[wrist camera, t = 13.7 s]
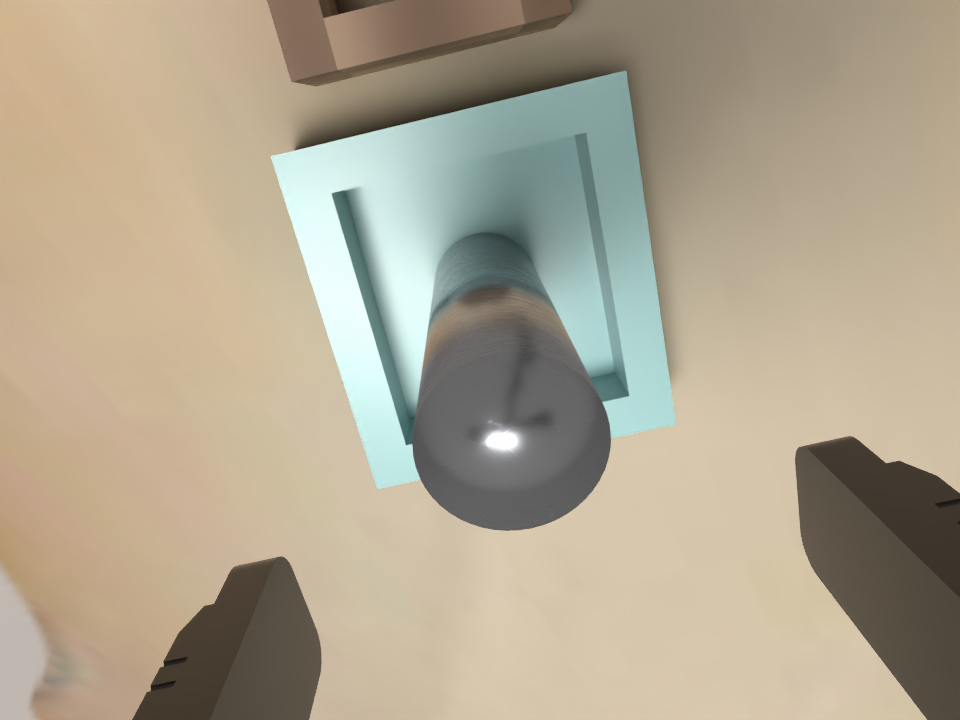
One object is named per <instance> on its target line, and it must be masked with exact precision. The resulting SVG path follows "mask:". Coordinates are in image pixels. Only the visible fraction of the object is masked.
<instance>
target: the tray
mask: <svg viewBox="0 0 960 720" xmlns="http://www.w3.org/2000/svg"><path fill="white" fill-rule="evenodd" d="M271 159H272V162H273V165H274V169H275V172H276V175H277V178H278V181H279V184H280V187H281V190H282V193H283V197H284V200H285V203H286V206H287V209H288V212H289V215H290V218H291V222H292V225H293V228H294V231H295V234H296V237H297V240H298V243H299V246H300V250H301V253H302V256H303V259H304V262H305V265H306V268H307V271H308V274H309V278H310V281H311V284H312V287H313V290H314V293H315V296H316V299H317V303H318V306H319V309H320V312H321V315H322V318H323V321H324V324H325V327H326V331H327V334H328V337H329V340H330V343H331V346H332V349H333V352H334V356H335V359H336V362H337V365H338V368H339V371H340V374H341V377H342V380H343V384H344V387H345V390H346V393H347V396H348V399H349V402H350V405H351V408H352V412H353V415H354V418H355V421H356V424H357V427H358V430H359V433H360V437H361V440H362V443H363V446H364V449H365V452H366V455H367V458H368V461H369V465H370V468H371V471H372V474H373V477H374V480H375V483H376V486H377V489H380V488H385V487H389V486H394V485H398V484H403V483H408V482H412V481H417V480H421V479H420V477H419V474H418V472H417V469H416V466H415V462H414V457H413V446H412V441H413V430H414V423H415V416H416V409H417V401H418V394H419V387H420V380H421V373H422V366H423V359H424V352H425V345H426V338H427V331H428V324H429V316H430V309H431V302H432V295H433V288H434V281H435V275H436V270H437V267H438V264H439V262H440V260H441V258H442V256H443V255H444V254H445V252H446V251H447V250H448V249H449V248H450V247H451V246H452V245H453V244H454V243H455V242H457V241H459V240H460V239H462V238H464V237H466V236H469V235H472V234H477V233H495V234H499V235H503V236H505V237H508V238H510V239H511V240H513V241H515V242H516V243H517V244H519V245H520V246H521V247H522V248H523V249H524V250H525V252H526V253H527V254H528V256H529V258H530V259H531V261H532V263H533V265H534V267H535V269H536V271H537V273H538V275H539V277H540V279H541V281H542V283H543V285H544V287H545V289H546V291H547V293H548V295H549V297H550V299H551V301H552V303H553V305H554V307H555V309H556V311H557V313H558V315H559V317H560V319H561V321H562V323H563V325H564V327H565V329H566V331H567V333H568V335H569V337H570V339H571V341H572V343H573V345H574V347H575V349H576V351H577V353H578V355H579V357H580V359H581V361H582V363H583V365H584V367H585V369H586V371H587V373H588V375H589V377H590V379H591V381H592V383H593V385H594V387H595V389H596V391H597V393H598V395H599V397H600V399H601V401H602V403H603V405H604V407H605V410H606V412H607V416H608V420H609V424H610V432H611V438H614V437H619V436H623V435H628V434H633V433H637V432H642V431H646V430H651V429H655V428H660V427H665V426H669V425H674V424H676V421H675V414H674V407H673V399H672V392H671V385H670V378H669V371H668V364H667V357H666V350H665V342H664V335H663V328H662V321H661V314H660V307H659V300H658V293H657V285H656V278H655V271H654V264H653V257H652V250H651V243H650V236H649V229H648V221H647V214H646V207H645V200H644V193H643V186H642V179H641V172H640V164H639V157H638V150H637V143H636V136H635V129H634V122H633V115H632V107H631V100H630V93H629V86H628V79H627V72H626V70H625V71H621V72H617V73H612V74H608V75H604V76H600V77H596V78H592V79H588V80H584V81H580V82H575V83H571V84H567V85H563V86H559V87H555V88H551V89H547V90H542V91H538V92H534V93H530V94H526V95H522V96H518V97H514V98H509V99H505V100H501V101H497V102H493V103H489V104H485V105H481V106H476V107H472V108H468V109H464V110H460V111H456V112H452V113H448V114H443V115H439V116H435V117H431V118H427V119H423V120H419V121H415V122H410V123H406V124H402V125H398V126H394V127H390V128H386V129H382V130H377V131H373V132H369V133H365V134H361V135H357V136H353V137H349V138H344V139H340V140H336V141H332V142H328V143H324V144H320V145H316V146H311V147H307V148H303V149H299V150H295V151H291V152H287V153H283V154H278V155H274V156H271Z"/></svg>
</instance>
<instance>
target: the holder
mask: <svg viewBox="0 0 960 720" xmlns="http://www.w3.org/2000/svg"><path fill="white" fill-rule="evenodd" d="M267 1H268V4H269V8H270V11H271V14H272V18H273V21H274V24H275V28H276V31H277V34H278V38H279V41H280V44H281V48H282V51H283V54H284V58H285V61H286V64H287V68H288V71H289V74H290V78H291V81H292V82H296V83H302V84H307V85H312V86H319V85H324V84H328V83H332V82H336V81H340V80H344V79H348V78H352V77H356V76H360V75H364V74H368V73H372V72H376V71H380V70H384V69H388V68H393V67H397V66H401V65H405V64H409V63H413V62H417V61H421V60H425V59H429V58H433V57H437V56H441V55H445V54H449V53H453V52H457V51H461V50H466V49H470V48H474V47H478V46H482V45H486V44H490V43H494V42H498V41H502V40H506V39H510V38H514V37H518V36H522V35H526V34H530V33H534V32H539V31H543V30H547V29H551V28H555V27H556V26H557V25H558V24H559V23H561V22H562V21H563V20H564V19H565V18H566V17H567V16H569V15H570V14H571V13H572V6H571V0H394V1H390V2H386V3H382V4H378V5H374V6H370V7H366V8H362V9H358V10H354V11H350V12H346V13H342V14H338V10H337V6H336V2H335V0H267Z"/></svg>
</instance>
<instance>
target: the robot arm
mask: <svg viewBox="0 0 960 720" xmlns="http://www.w3.org/2000/svg"><path fill="white" fill-rule="evenodd" d="M795 464H796V477H797V490H798V504H799V517H800V530H801V537H802V542H803V546H804V549H805V552H806V555H807V557H808V559H809V562H810V564H811V566H812V568H813V570H814V571H815V573H816V574H817V576H818V577H819V578H820V580H821V581H822V582H823V584H824V585H825V586H826V588H827V589H828V590H829V592H830V593H831V594H832V595H833V597H834V598H835V599H836V601H837V602H838V603H839V605H840V606H841V607H842V609H843V610H844V611H845V612H846V614H847V615H848V616H849V618H850V619H851V620H852V622H853V623H854V624H855V626H856V627H857V628H858V630H859V631H860V632H861V633H862V635H863V636H864V637H865V639H866V640H867V641H868V643H869V644H870V645H871V647H872V648H873V649H874V650H875V652H876V653H877V654H878V656H879V657H880V658H881V660H882V661H883V662H884V664H885V665H886V666H887V667H888V669H889V670H890V671H891V673H892V674H893V675H894V677H895V678H896V679H897V681H898V682H899V683H900V685H901V686H902V687H903V688H904V690H905V691H906V692H907V694H908V695H909V696H910V698H911V699H912V700H913V702H914V703H915V704H916V705H917V707H918V708H919V709H920V711H921V712H922V713H923V715H924V716H925V717H926V719H927V720H960V493H958V492H957V491H956V490H955V489H953V488H952V487H951V486H949V485H948V484H947V483H946V482H944V481H943V480H942V479H940V478H939V477H938V476H936V475H933V474H931V473H928V472H926V471H923V470H921V469H918V468H916V467H913V466H911V465H908V464H906V463H903V462H901V461H896V462H891V463H885V462H884V461H883V460H881V459H880V458H879V457H878V456H877V455H875V454H874V453H873V452H872V451H871V450H869V449H868V448H867V447H866V446H865V445H863V444H862V443H861V442H860V441H859V440H857V439H856V438H854V437H850V436H848V437H844V438H839V439H834V440H830V441H825V442H820V443H816V444H811V445H806V446H802V447H799V448H798V449H797V451H796V457H795ZM320 672H321V647H320V641H319V637H318V633H317V630H316V627H315V625H314V622H313V620H312V617H311V615H310V612H309V610H308V607H307V605H306V602H305V600H304V597H303V595H302V592H301V590H300V587H299V585H298V582H297V580H296V577H295V575H294V572H293V570H292V567H291V565H290V563H289V562H288V561H287V559H285V558H284V557H276V558H272V559H267V560H262V561H258V562H253V563H248V564H244V565H239V566H236V567H234V568H233V569H232V570H231V571H230V573H229V575H228V577H227V579H226V581H225V583H224V585H223V587H222V589H221V591H220V593H219V595H218V597H217V599H216V601H215V603H214V604H212V605H207V606H204V607H203V608H202V609H201V610H200V611H199V612H198V613H197V615H196V616H195V617H194V618H193V619H192V620H191V621H190V622H189V623H188V624H187V625H186V626H185V627H184V628H183V629H182V630H181V631H180V632H179V634H178V635H177V637H176V639H175V641H174V643H173V645H172V647H171V648H170V650H169V652H168V654H167V656H166V658H165V660H164V667H160V669H159V671H158V673H157V675H156V676H155V678H154V680H153V682H152V684H151V691H150V692H147V693H146V695H145V697H144V699H143V701H142V703H141V704H140V706H139V708H138V710H137V712H136V714H135V716H134V718H133V719H132V720H309V717H310V713H311V709H312V705H313V701H314V697H315V693H316V689H317V685H318V681H319V677H320Z"/></svg>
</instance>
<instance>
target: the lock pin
mask: <svg viewBox="0 0 960 720" xmlns="http://www.w3.org/2000/svg"><path fill="white" fill-rule="evenodd" d="M610 445H611V432H610V424H609V420H608V416H607V412H606V410H605V407H604V405H603V403H602V401H601V399H600V397H599V395H598V393H597V391H596V389H595V387H594V385H593V383H592V381H591V379H590V377H589V375H588V373H587V371H586V369H585V367H584V365H583V363H582V361H581V359H580V357H579V355H578V353H577V351H576V349H575V347H574V345H573V343H572V341H571V339H570V337H569V335H568V333H567V331H566V329H565V327H564V325H563V323H562V321H561V319H560V317H559V315H558V313H557V311H556V309H555V307H554V305H553V303H552V301H551V299H550V297H549V295H548V293H547V291H546V289H545V287H544V285H543V283H542V281H541V279H540V277H539V275H538V273H537V271H536V269H535V267H534V265H533V263H532V261H531V259H530V258H529V256H528V254H527V253H526V252H525V250H524V249H523V248H522V247H521V246H520V245H519V244H517V243H516V242H515V241H513V240H511V239H510V238H508V237H505V236H503V235H499V234H495V233H477V234H472V235H469V236H466V237H464V238H462V239H460V240H459V241H457V242H455V243H454V244H453V245H452V246H451V247H450V248H449V249H448V250H447V251H446V252H445V254H444V255H443V256H442V258H441V260H440V262H439V264H438V267H437V270H436V275H435V281H434V288H433V295H432V302H431V309H430V316H429V324H428V331H427V338H426V345H425V352H424V359H423V366H422V373H421V380H420V387H419V394H418V401H417V409H416V416H415V423H414V430H413V441H412V446H413V457H414V462H415V466H416V469H417V472H418V474H419V477H420V479H421V481H422V483H423V485H424V486H425V488H426V489H427V491H428V492H429V493H430V495H431V496H432V497H433V498H434V499H435V500H436V501H437V503H438V504H439V505H440V506H442V507H443V508H444V509H446V510H447V511H448V512H449V513H451V514H453V515H454V516H456V517H458V518H459V519H461V520H463V521H466V522H468V523H470V524H473V525H476V526H479V527H483V528H488V529H493V530H506V531H509V530H523V529H529V528H534V527H538V526H541V525H545V524H547V523H550V522H552V521H555V520H557V519H558V518H560V517H562V516H564V515H566V514H567V513H569V512H570V511H572V510H573V509H574V508H576V507H577V506H578V505H579V504H580V503H581V502H583V501H584V500H585V499H586V498H587V496H588V495H589V494H590V493H591V492H592V491H593V489H594V488H595V486H596V485H597V483H598V482H599V480H600V478H601V476H602V474H603V472H604V470H605V467H606V464H607V461H608V458H609V452H610Z"/></svg>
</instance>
